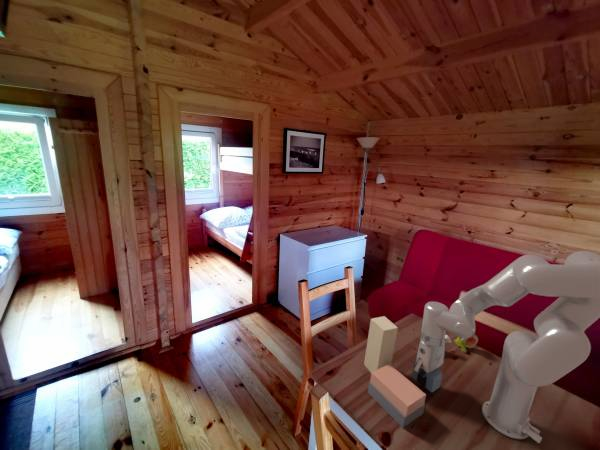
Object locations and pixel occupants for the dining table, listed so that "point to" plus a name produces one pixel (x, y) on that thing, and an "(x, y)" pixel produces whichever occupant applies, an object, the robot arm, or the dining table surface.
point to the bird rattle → (463, 341)
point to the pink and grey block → (396, 395)
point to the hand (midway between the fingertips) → (426, 380)
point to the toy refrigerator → (380, 343)
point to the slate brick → (430, 378)
